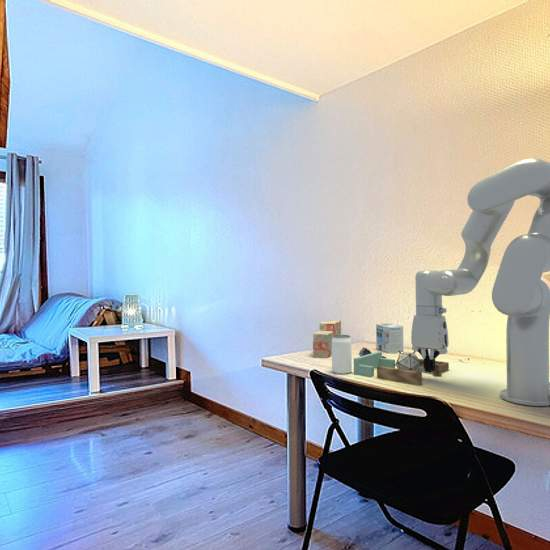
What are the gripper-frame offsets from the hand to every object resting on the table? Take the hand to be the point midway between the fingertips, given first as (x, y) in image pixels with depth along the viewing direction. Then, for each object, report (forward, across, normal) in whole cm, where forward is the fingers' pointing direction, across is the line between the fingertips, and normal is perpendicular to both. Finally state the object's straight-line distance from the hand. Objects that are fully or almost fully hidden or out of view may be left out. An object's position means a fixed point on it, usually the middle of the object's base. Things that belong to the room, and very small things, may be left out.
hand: (429, 371), depth 135 cm
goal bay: (+3, +19, 0) cm, 19 cm away
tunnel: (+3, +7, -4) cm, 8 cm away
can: (+3, +26, +8) cm, 28 cm away
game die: (+3, +7, 0) cm, 8 cm away
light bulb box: (+3, +33, -35) cm, 48 cm away
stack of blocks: (+3, +50, -16) cm, 53 cm away
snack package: (+3, +27, -11) cm, 29 cm away
